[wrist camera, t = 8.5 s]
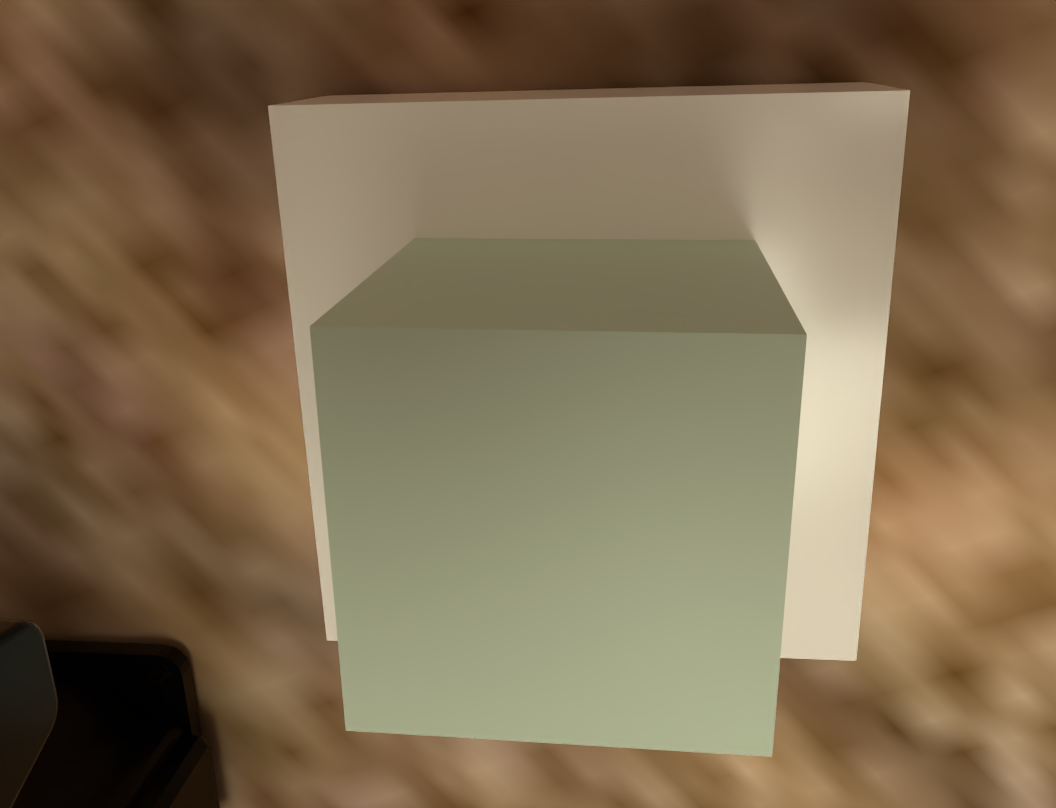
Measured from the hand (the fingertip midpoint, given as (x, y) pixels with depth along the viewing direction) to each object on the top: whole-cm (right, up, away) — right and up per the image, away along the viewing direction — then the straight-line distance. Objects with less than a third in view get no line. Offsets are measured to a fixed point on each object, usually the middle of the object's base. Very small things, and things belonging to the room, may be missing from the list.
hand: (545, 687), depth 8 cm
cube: (+1, +2, +7) cm, 8 cm away
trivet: (+1, +3, +10) cm, 11 cm away
